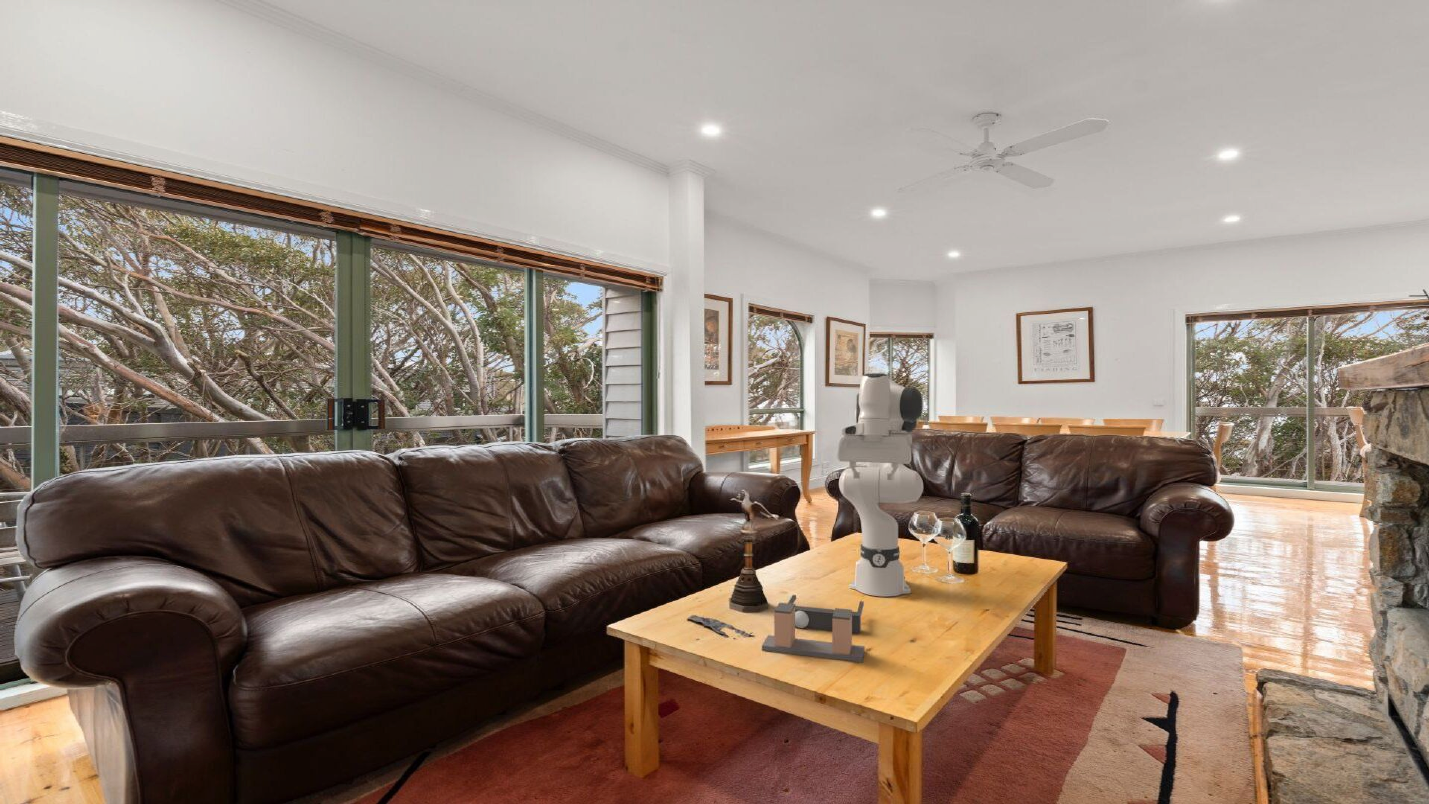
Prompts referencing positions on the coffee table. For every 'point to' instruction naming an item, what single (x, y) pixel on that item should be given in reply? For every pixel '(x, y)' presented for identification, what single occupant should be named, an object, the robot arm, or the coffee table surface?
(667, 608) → the coffee table surface
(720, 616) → the coffee table surface
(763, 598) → the bird statue
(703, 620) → the driftwood
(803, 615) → the glasses
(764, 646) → the stand
